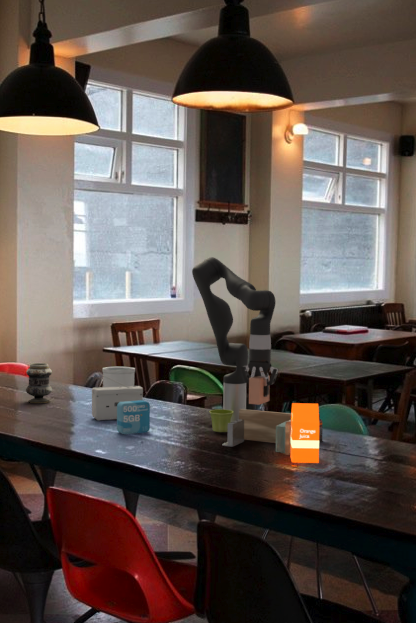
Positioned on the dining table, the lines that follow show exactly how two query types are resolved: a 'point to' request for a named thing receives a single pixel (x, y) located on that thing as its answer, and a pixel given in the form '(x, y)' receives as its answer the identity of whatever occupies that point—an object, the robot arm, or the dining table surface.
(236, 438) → the bookend
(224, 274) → the robot arm
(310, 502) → the dining table surface
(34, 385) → the stone urn vase
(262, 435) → the rack
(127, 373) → the utensil holder
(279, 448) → the teal book
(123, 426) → the data package
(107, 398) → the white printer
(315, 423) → the orange juice
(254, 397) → the tan rectangular block
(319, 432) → the supplement bottle
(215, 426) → the plant pot
